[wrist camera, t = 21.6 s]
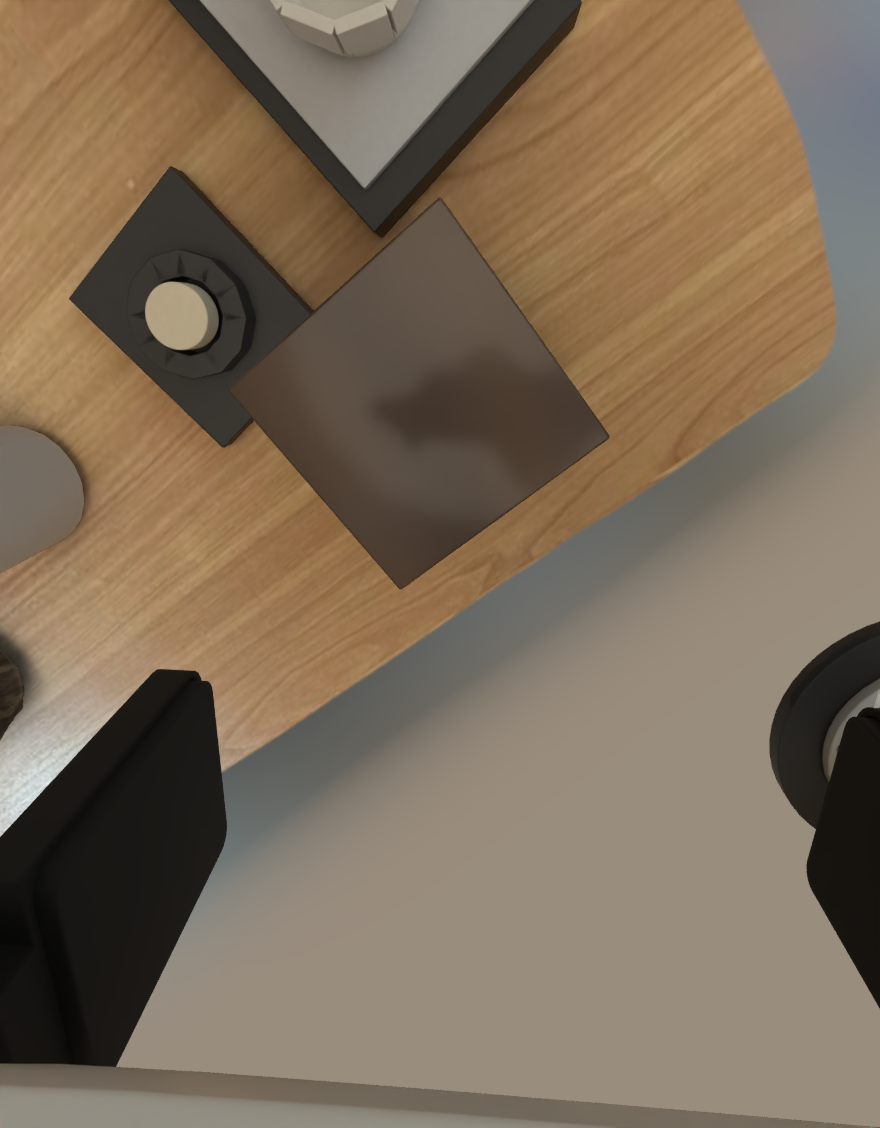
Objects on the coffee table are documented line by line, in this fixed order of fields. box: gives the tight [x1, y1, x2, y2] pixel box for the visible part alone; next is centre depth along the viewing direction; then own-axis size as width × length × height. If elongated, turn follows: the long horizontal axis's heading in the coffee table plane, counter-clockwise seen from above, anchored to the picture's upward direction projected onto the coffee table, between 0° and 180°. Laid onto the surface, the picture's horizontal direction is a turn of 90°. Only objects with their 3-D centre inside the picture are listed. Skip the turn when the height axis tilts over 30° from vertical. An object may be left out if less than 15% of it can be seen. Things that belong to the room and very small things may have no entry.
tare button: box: [145, 282, 219, 350], centre depth 34 cm, size 3×3×2 cm
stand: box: [229, 198, 609, 589], centre depth 31 cm, size 10×10×14 cm
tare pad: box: [69, 166, 314, 448], centre depth 36 cm, size 11×9×3 cm
